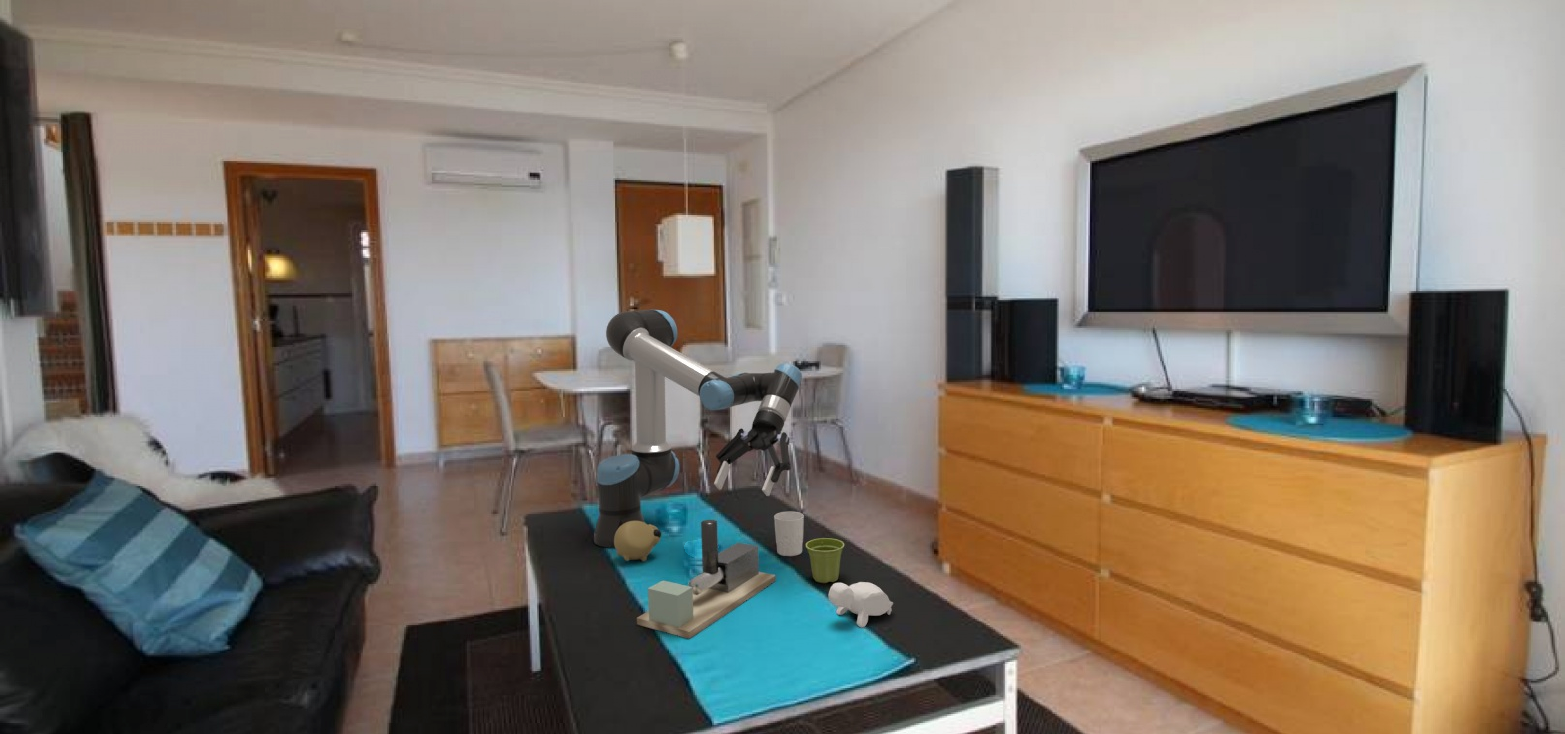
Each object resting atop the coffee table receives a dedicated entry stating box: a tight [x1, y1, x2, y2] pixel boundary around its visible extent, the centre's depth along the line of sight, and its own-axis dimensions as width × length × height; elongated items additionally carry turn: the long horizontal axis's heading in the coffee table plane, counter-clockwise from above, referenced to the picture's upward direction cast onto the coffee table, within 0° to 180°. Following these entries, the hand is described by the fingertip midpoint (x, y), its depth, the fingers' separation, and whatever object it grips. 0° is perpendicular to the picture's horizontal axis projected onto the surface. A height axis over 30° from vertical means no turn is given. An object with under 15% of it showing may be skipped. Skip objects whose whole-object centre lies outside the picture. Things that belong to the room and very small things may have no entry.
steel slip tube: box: [687, 519, 726, 595], centre depth 177 cm, size 4×21×15 cm, turn 149°
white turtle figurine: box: [828, 581, 894, 628], centre depth 164 cm, size 9×8×15 cm
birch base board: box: [636, 571, 776, 640], centre depth 174 cm, size 14×34×2 cm, turn 149°
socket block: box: [647, 580, 694, 628], centre depth 161 cm, size 8×5×7 cm, turn 59°
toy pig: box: [614, 521, 662, 563], centre depth 201 cm, size 10×12×11 cm
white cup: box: [773, 511, 805, 557], centre depth 204 cm, size 8×8×10 cm
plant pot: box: [805, 537, 845, 584], centre depth 185 cm, size 9×9×9 cm
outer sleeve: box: [710, 542, 760, 593], centre depth 182 cm, size 6×13×7 cm, turn 149°
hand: (740, 489), depth 182 cm, fingers open, 13 cm apart
